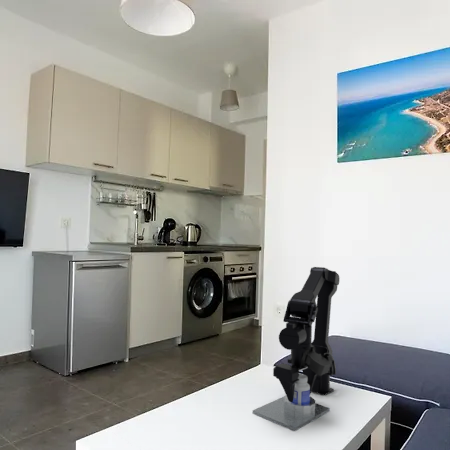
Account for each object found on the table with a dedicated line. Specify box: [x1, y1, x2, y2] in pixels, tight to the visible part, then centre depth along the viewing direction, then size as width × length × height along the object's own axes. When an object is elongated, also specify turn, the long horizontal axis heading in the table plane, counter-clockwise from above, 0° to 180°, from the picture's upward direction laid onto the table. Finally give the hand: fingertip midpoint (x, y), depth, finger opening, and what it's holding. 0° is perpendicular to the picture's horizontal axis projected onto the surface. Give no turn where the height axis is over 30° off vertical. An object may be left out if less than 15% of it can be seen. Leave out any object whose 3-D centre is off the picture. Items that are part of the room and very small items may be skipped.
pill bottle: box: [292, 373, 311, 405], centre depth 112 cm, size 5×5×10 cm
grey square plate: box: [252, 395, 331, 432], centre depth 112 cm, size 18×14×4 cm
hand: (300, 397), depth 112 cm, fingers open, 9 cm apart
